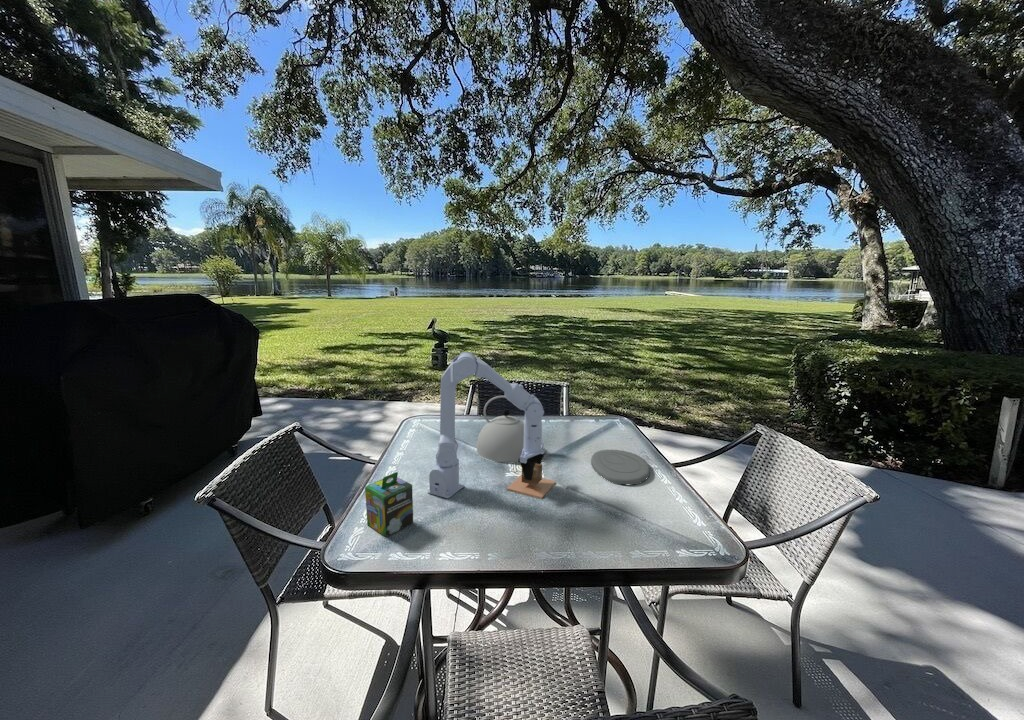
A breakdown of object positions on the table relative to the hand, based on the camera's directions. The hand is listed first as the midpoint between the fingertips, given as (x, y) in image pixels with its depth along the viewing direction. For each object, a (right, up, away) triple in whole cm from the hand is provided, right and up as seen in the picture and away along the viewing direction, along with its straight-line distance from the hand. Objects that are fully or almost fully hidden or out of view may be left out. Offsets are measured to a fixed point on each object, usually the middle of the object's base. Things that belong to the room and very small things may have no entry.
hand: (531, 476), depth 137 cm
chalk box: (-39, -7, -22) cm, 46 cm away
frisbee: (+33, -2, +15) cm, 36 cm away
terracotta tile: (0, -4, +1) cm, 4 cm away
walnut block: (0, -2, 0) cm, 2 cm away
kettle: (-8, +1, +30) cm, 31 cm away
